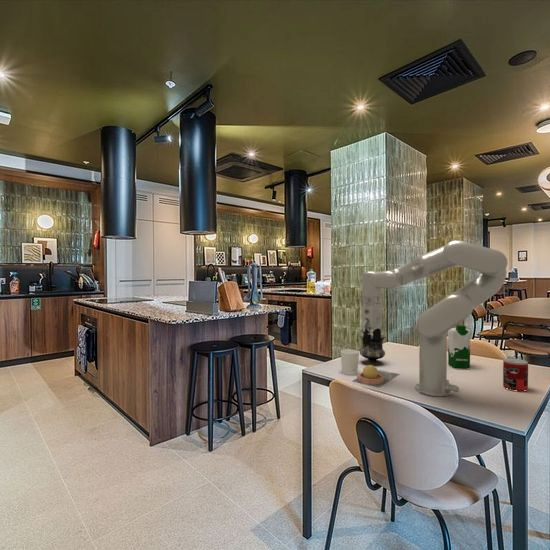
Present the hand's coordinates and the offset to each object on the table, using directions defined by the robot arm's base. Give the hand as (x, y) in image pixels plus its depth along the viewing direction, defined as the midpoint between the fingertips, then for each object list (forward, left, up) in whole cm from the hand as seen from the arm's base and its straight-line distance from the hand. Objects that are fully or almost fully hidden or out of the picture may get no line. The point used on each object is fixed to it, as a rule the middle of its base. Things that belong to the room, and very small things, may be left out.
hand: (372, 342), depth 144 cm
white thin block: (0, -6, -17) cm, 17 cm away
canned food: (-47, -27, -17) cm, 57 cm away
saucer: (0, +1, -17) cm, 17 cm away
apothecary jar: (+11, -25, -17) cm, 32 cm away
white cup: (+13, -4, -17) cm, 21 cm away
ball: (0, +1, -16) cm, 16 cm away
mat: (0, -5, -17) cm, 17 cm away
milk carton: (-23, -46, -17) cm, 54 cm away
